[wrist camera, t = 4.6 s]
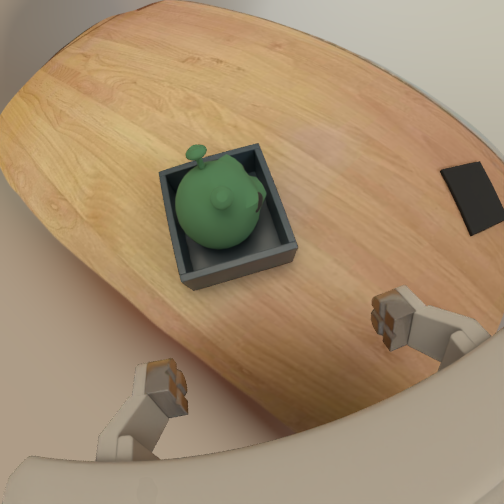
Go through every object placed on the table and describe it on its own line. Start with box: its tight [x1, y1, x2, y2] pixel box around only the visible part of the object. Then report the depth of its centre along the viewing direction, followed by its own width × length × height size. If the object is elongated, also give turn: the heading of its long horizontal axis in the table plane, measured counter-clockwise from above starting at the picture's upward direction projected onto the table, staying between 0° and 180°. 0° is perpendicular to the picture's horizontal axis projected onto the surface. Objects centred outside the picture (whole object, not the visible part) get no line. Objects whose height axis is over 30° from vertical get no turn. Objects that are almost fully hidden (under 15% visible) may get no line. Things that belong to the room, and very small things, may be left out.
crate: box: [159, 143, 298, 291], centre depth 27 cm, size 11×10×4 cm
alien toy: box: [175, 145, 266, 249], centre depth 24 cm, size 7×8×10 cm
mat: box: [440, 161, 504, 236], centre depth 29 cm, size 9×9×1 cm
